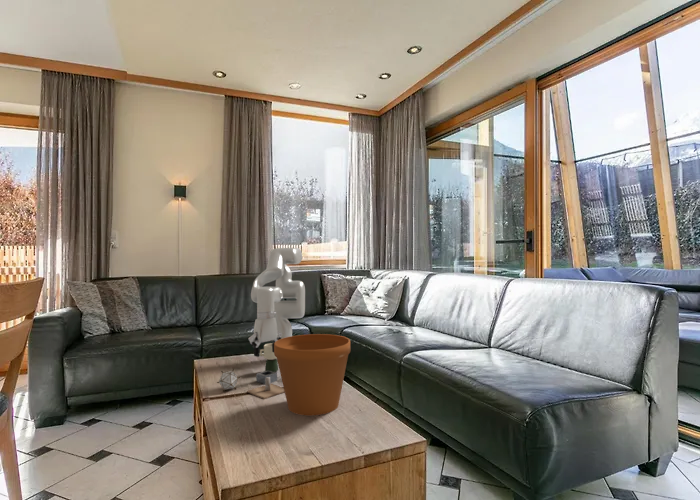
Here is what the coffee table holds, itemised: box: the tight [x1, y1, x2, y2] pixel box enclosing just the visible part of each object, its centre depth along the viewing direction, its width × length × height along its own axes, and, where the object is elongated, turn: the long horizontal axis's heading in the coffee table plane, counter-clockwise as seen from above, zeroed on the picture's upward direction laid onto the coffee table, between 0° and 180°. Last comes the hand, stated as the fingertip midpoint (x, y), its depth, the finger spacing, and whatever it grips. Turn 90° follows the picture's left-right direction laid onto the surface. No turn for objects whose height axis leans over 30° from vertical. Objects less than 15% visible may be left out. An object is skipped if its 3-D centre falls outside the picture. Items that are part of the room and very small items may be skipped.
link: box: [255, 370, 278, 385], centre depth 174 cm, size 6×6×4 cm
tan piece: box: [246, 377, 285, 400], centre depth 160 cm, size 12×12×6 cm
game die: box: [216, 368, 241, 392], centre depth 164 cm, size 9×8×10 cm
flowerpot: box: [274, 333, 352, 417], centre depth 145 cm, size 28×28×24 cm
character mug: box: [259, 342, 279, 373], centre depth 188 cm, size 11×7×13 cm, turn 109°
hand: (266, 354), depth 174 cm, fingers open, 9 cm apart
